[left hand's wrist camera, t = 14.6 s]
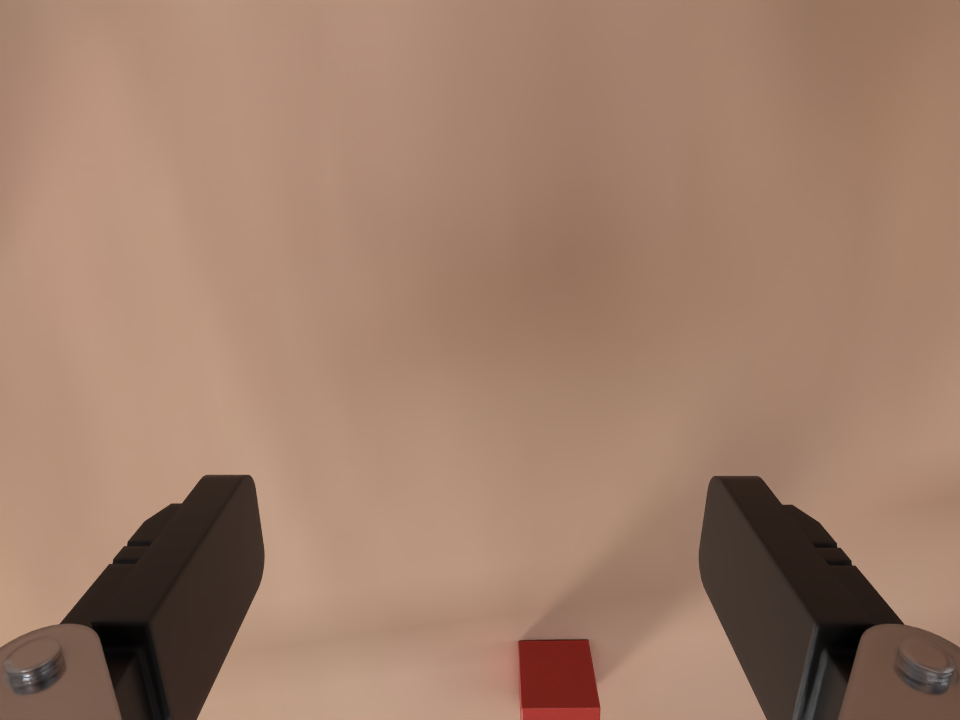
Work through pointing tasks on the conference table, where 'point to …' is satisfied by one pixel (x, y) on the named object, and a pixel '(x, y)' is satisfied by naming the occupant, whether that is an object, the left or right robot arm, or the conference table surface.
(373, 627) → the conference table surface
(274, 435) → the conference table surface
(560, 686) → the block
